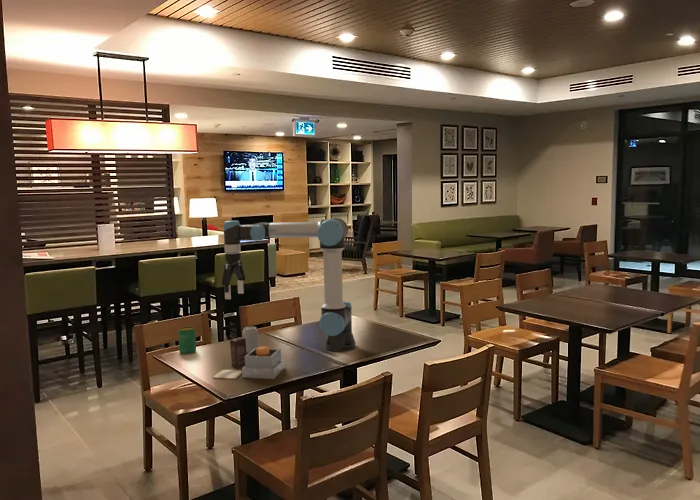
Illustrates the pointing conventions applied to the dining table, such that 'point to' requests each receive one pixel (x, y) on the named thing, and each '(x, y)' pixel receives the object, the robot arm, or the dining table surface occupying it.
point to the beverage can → (187, 340)
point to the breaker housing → (263, 365)
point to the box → (238, 351)
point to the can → (251, 338)
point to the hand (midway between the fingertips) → (234, 296)
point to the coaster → (228, 374)
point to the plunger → (262, 351)
